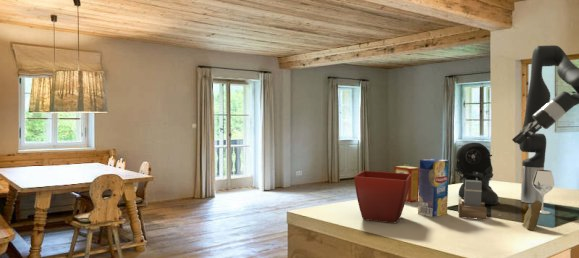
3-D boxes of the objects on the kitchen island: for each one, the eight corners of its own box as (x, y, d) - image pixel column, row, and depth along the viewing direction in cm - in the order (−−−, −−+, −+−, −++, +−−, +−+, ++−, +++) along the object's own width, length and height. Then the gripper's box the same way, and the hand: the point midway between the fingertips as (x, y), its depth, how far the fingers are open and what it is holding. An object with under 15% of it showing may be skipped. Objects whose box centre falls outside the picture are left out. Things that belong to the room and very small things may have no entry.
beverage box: (447, 213, 183) (449, 160, 182) (433, 217, 175) (435, 161, 175) (432, 210, 188) (433, 158, 187) (417, 213, 181) (419, 159, 180)
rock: (541, 226, 154) (555, 219, 160) (526, 204, 158) (539, 198, 164) (517, 238, 162) (531, 231, 168) (503, 217, 166) (516, 211, 171)
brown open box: (458, 211, 188) (458, 198, 188) (483, 213, 184) (484, 200, 184) (458, 217, 177) (459, 203, 176) (486, 219, 173) (486, 205, 173)
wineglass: (556, 215, 186) (558, 172, 185) (534, 213, 187) (536, 171, 187) (548, 211, 194) (550, 169, 193) (528, 209, 195) (530, 169, 195)
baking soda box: (393, 198, 213) (394, 165, 213) (402, 197, 217) (403, 165, 217) (409, 202, 206) (410, 167, 205) (418, 201, 210) (419, 167, 209)
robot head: (512, 205, 202) (502, 141, 201) (474, 211, 202) (464, 147, 202) (484, 193, 232) (475, 138, 231) (451, 199, 232) (442, 143, 232)
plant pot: (405, 226, 158) (406, 179, 158) (352, 221, 165) (353, 175, 165) (410, 216, 176) (411, 173, 176) (362, 211, 183) (363, 170, 183)
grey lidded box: (463, 206, 184) (464, 179, 184) (479, 207, 182) (481, 180, 182) (464, 208, 179) (465, 181, 179) (480, 209, 177) (481, 182, 177)
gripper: (537, 108, 183) (506, 134, 188) (545, 107, 170) (510, 136, 174) (552, 121, 182) (519, 147, 186) (560, 121, 168) (525, 150, 173)
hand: (515, 142), depth 180 cm, fingers open, 8 cm apart
